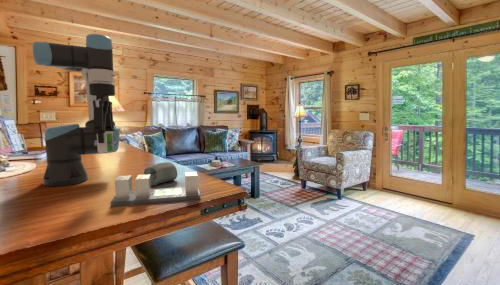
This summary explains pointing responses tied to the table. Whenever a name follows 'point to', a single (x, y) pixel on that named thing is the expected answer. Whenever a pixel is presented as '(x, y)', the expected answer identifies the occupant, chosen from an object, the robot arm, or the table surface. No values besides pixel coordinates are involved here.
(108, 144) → the geometric puzzle
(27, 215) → the table surface
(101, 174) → the table surface
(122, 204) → the finger rail
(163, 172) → the grey rounded lump
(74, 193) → the table surface
